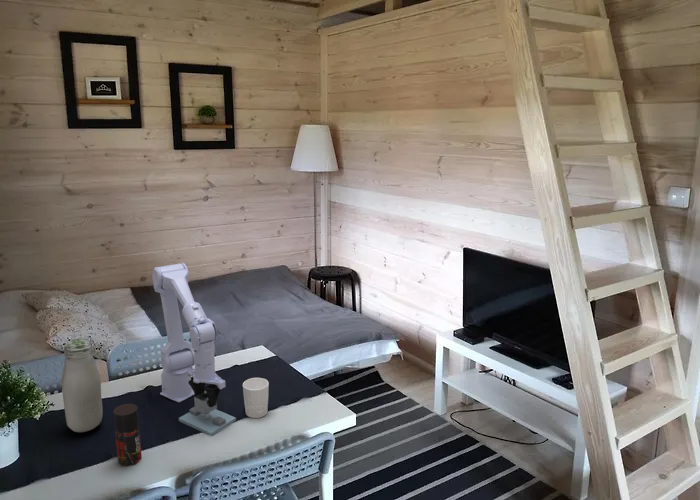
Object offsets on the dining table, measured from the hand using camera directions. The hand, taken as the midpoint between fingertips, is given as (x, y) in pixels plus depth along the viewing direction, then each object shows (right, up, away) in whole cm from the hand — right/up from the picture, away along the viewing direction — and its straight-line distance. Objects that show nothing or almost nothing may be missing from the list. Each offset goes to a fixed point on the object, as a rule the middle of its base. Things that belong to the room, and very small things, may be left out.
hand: (206, 403), depth 166 cm
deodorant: (-16, -10, -17) cm, 26 cm away
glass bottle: (-34, -7, -4) cm, 35 cm away
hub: (0, -2, 0) cm, 2 cm away
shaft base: (0, -6, +2) cm, 6 cm away
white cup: (+14, -5, +7) cm, 16 cm away
